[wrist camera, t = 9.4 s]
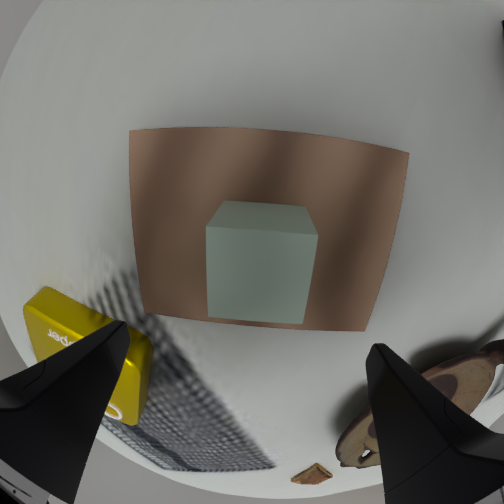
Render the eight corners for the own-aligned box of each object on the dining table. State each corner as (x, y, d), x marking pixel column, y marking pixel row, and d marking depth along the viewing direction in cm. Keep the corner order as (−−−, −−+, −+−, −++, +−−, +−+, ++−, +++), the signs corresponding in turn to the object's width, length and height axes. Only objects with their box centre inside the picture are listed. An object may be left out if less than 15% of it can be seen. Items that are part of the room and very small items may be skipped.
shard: (316, 460, 35) (317, 468, 34) (351, 460, 36) (352, 468, 34) (289, 476, 40) (289, 484, 38) (321, 478, 40) (321, 484, 39)
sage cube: (305, 206, 16) (318, 235, 12) (295, 277, 18) (302, 324, 14) (224, 200, 17) (205, 226, 12) (222, 272, 19) (207, 316, 14)
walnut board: (399, 151, 16) (409, 153, 14) (360, 320, 21) (364, 331, 20) (139, 130, 16) (129, 130, 15) (150, 302, 22) (144, 312, 21)
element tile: (156, 334, 24) (139, 369, 20) (147, 405, 30) (136, 432, 26) (41, 278, 23) (15, 301, 19) (56, 360, 29) (41, 382, 25)
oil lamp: (295, 401, 27) (297, 460, 20) (518, 269, 18) (557, 305, 11) (354, 453, 34) (359, 489, 27) (507, 368, 25) (525, 398, 18)
